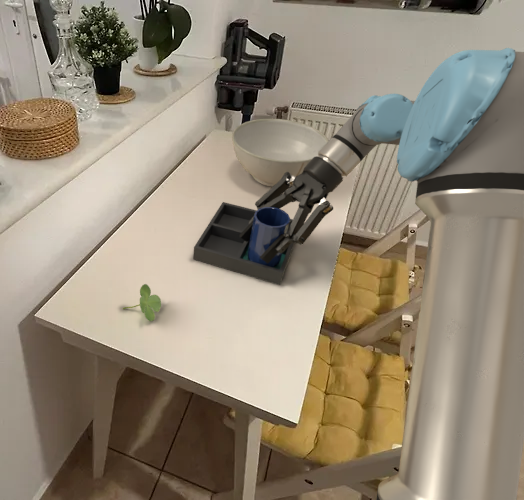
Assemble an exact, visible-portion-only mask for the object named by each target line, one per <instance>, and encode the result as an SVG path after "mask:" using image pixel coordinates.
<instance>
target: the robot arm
mask: <svg viewBox="0 0 524 500" xmlns="http://www.w3.org/2000/svg"><path fill="white" fill-rule="evenodd" d="M328 140H329V141H328V142H327V143H326V144H325V145H324V146H323V148H322V149H321V150H320V151H319V152H318V155H319V156H316V157H314V158H313V159H312V160H311V161H310V162H309V163H308V164H307V165H306V166H305V167H304V170H303V172H302V173H301V174H300V175H298V176H293V175H291V174H290V173H289V172H285V173H284V175H283V177H282V178H281V180H280V181H279V182H278V183H276V184H275V185H274V186H273V187H271V188H270V189H268V190H267V191H266V192H265V193H264V194H263V195H262V196H261V197H260V198H259V199H257V200H256V201H255V203H254V206H256V210H258V209H260V208H264V207H274V208H279V209H282V208H283V207H285V206H287V205H288V204H290V203H294V202H298V208H297V210H296V211H295V215H294V216H293V218H292V219H293V221H292V223H291V225H290V227H289V229H288V231H287V233H284V235H283V234H281V235H280V236H279V237H278V238H277V239H276V240H275V241H274V242H273V244H272V245H271V246H270V247H269V248H268V249H267V250H266V251H265V252H264V253H263V254H262V255H261V256H260V258H261V259H262V260H264V261H265V262H266V263H269V262H270V261H271V260H272V259H273V258H274V257H275V256H276V255H277V254H278V253H282V252H284V251H285V250H286V248H287V247H288V246H289V245H290V244H291V243H295V244H298V245H300V246H303V245H304V244H305V243H306V241H307V240H308V239H309V237H310V236H311V234H313V232H314V231H315V230H316V228H317V227H318V226H319V224H320V223H321V222H322V221H323V219H324V218H325V216H327V215H329V214H330V213H332V211H333V210H334V206H333V204H331V202H329V200H328V199H327V198H328V196H329V194H330V193H332V192H334V191H335V189H336V188H337V187H338V186H340V184H341V183H342V182H343V180H344V178H343V177H348V176H349V175H350V173H351V172H352V171H353V170H354V169H355V168H356V167H357V166H359V164H360V163H362V161H363V160H364V158H366V156H367V155H368V154H370V152H371V151H372V150H374V148H375V147H377V146H379V145H382V144H384V145H393V146H394V145H395V146H398V148H397V154H396V163H397V172H398V174H399V176H400V177H402V178H404V179H405V180H407V181H408V182H417V183H416V191H415V192H416V193H415V194H416V195H415V200H414V201H415V203H414V205H415V206H416V207H417V208H418V209H419V210H420V211H421V212H422V213H423V214H424V215H425V216H426V218H428V220H429V223H430V227H429V233H428V234H429V235H428V241H427V250H426V255H425V256H426V257H425V264H424V270H423V271H424V273H423V280H422V287H421V294H420V295H421V296H420V303H419V309H418V310H419V311H418V318H417V326H416V332H415V333H416V334H415V342H414V348H413V358H412V364H411V365H412V366H411V371H410V381H409V388H408V395H407V403H406V411H405V420H404V427H403V435H402V442H401V450H400V451H401V452H400V458H399V464H398V465H399V466H398V472H397V473H395V474H394V475H391V476H389V477H387V478H385V479H383V480H382V481H380V482H379V483H378V486H377V491H376V500H518V491H519V483H520V475H521V467H522V466H521V465H522V457H523V451H524V51H516V50H515V49H513V48H512V47H506V48H503V49H498V50H497V49H496V50H495V49H464V50H461V51H458V52H456V53H454V54H451V55H450V56H449V57H447V58H445V60H443V61H442V62H441V63H439V65H438V66H437V67H436V68H435V69H434V70H433V72H432V73H431V74H430V76H429V77H428V78H427V79H426V81H425V82H424V84H423V86H422V87H421V89H420V91H419V93H418V95H417V97H416V99H415V100H410V99H409V98H408V97H407V96H405V95H403V94H400V93H387V94H383V95H375V94H374V95H371V96H369V97H368V98H367V99H366V100H365V101H364V102H363V103H362V104H361V105H359V106H358V107H357V108H356V110H355V111H354V113H352V115H351V116H350V117H349V118H348V119H347V120H346V122H345V123H344V124H343V125H342V126H341V127H340V128H339V129H338V131H337V132H336V133H335V134H334V135H333V136H332V137H331V138H330V139H328ZM315 205H317V206H316V208H315V209H314V206H315ZM313 209H314V210H313ZM309 214H310V215H309ZM253 220H254V216H253V218H251V220H250V221H249V225H248V226H247V227H246V228H245V229H244V231H243V232H242V233H241V234H240V235H239V236H240V237H241V238H242V239H243V240H245V241H246V242H247V241H248V240H249V239H250V237H251V232H252V226H253Z"/></svg>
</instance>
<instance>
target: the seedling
mask: <svg viewBox="0 0 524 500" xmlns="http://www.w3.org/2000/svg"><path fill="white" fill-rule="evenodd" d="M151 293H152V291H151V288H150V286H149V285H148V284H147V283H145V284H142V286H140V289H139V295H140V296H141V297H140V298H139V304H136V305H132V306H126V307H122V309H123V310H125V309H133V308H136V307H140V310H141V313H142V314H144V317H145V319H146V320H147V321H148V322H153V321H155V319H156V315H155V312H156V313H158V312H160V309H161V307H162V301H161V298H160V296H159V295H158V294H151Z"/></svg>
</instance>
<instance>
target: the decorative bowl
mask: <svg viewBox="0 0 524 500" xmlns="http://www.w3.org/2000/svg"><path fill="white" fill-rule="evenodd" d="M329 140H330V139H329V138H328V137H327V136H326V135H325V134H324V132H321V131H320V130H318V129H316V128H315V127H313V126H311V125H308V124H306V123H302V122H298V121H294V120H289V119H281V118H259V119H253V120H248V121H245V122H242V123H241V124H239V125H238V126H236V127H235V128H234V129H233V131H232V133H231V142H232V147H233V151H234V154H235V155H236V159H237V160H238V162H239V163H240V165H241V166H242V168H243V169H244V170H245V172H247V173H248V174H249V175H251V176H252V178H253V179H254V180H255V181H256V183H259V184H261V185H263V186H266V187H271V188H272V187H273V186H274V185H275V184H276V183H278V182H279V181H280V180H281V178H282V177H283V175H284V173H285V172H289V173H290V174H291V175H293V176H298V175H300V174H301V173H302V172H303V170H304V167H305V166H306V165H307V164H308V163H309V162H310V161H311V160H312V159H313V158H314V157H316V156H319V155H318V152H319V151H320V150H321V149H322V148H323V146H324V145H325V144H326V143H327V142H328V141H329Z"/></svg>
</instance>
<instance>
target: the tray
mask: <svg viewBox="0 0 524 500" xmlns="http://www.w3.org/2000/svg"><path fill="white" fill-rule="evenodd" d="M257 210H258V209H253V208H249V207H244V206H241V205H237V204H233V203H229V202H226V201H225V202H224V201H222V202H221V204H220V205H219V207H218V209H217V210H216V212H215V213H214V215H213V216H212V218H211V219H210V221H209V223H208V224H207V226H206V227H205V229H204V231H203V232H202V234H201V235H200V237H199V238H198V240H197V242H196V243H195V245H193V257H192V259H193V260H194V261H198V262H202V263H204V264H208V265H211V266H214V267H218V268H222V269H224V270H228V271H231V272H234V273H237V274H240V275H245V276H247V277H251V278H255V279H258V280H262V281H265V282H268V283H270V284H271V283H272V284H275V285H278V286H281V284H282V281H283V279H284V275H285V272H286V269H287V267H288V264H289V261H290V259H291V256H292V252H293V250H294V247H295V245H296V243H291V244H290V245H289V246H288V247H287V248H286V250H285V251H284V252H282V256H281V260H280V263H279V264H278V265H277V266H275V267H269V266H266V265H262V264H259V263H255V262H252V261H250V260H249V258H248V249H249V243H250V239H249V240H248V241H247V242H246V241H245V240H243V239H242V238H241V237H240V236H239V235H240V234H241V233H242V232H243V231H244V229H245V228H246V227H247V226H248V225H249V221H250V220H251V218H253V216H254V215H255V212H256V211H257ZM293 219H294V218H290V222H289V226H288V229H289V227H290V225H291V223H292V221H293ZM287 231H288V230H287Z"/></svg>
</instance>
